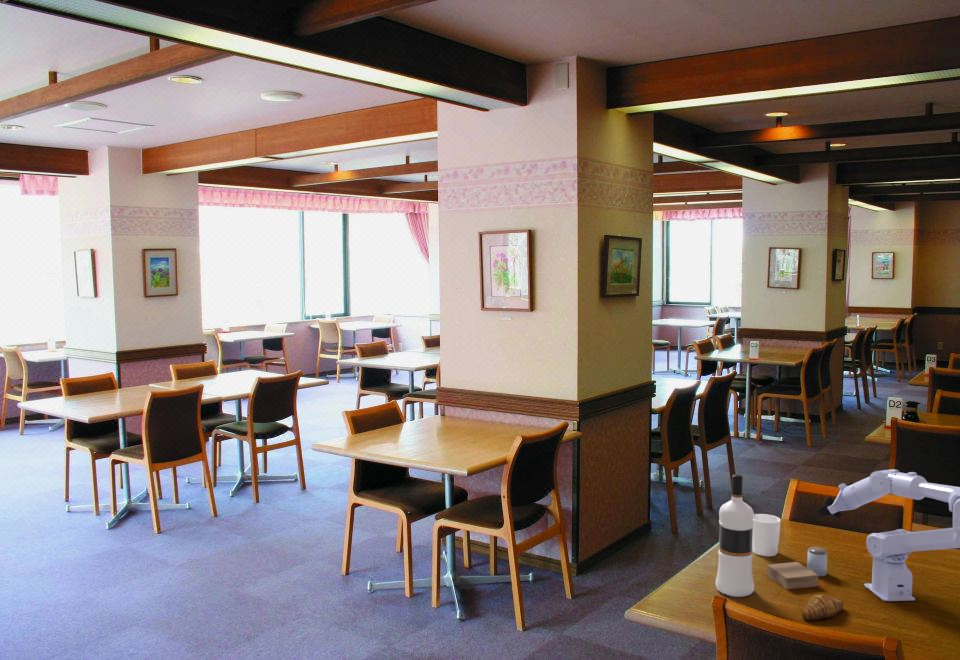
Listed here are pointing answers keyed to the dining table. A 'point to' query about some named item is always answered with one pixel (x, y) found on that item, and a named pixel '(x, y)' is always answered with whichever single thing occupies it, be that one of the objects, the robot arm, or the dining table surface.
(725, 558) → the vodka
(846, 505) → the robot arm
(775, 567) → the walnut box
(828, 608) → the croissant
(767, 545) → the white cup
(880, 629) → the dining table surface
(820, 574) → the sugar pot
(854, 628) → the dining table surface
